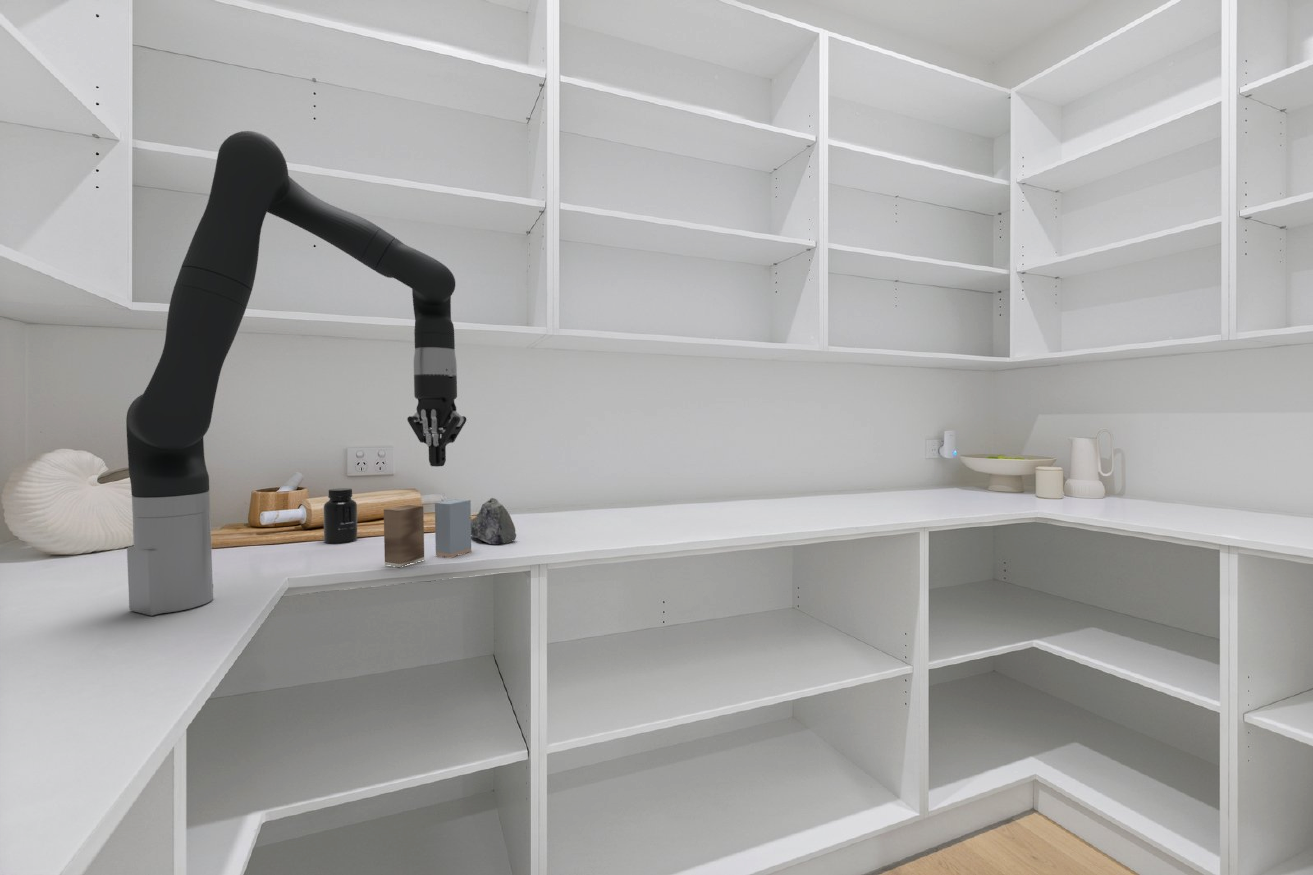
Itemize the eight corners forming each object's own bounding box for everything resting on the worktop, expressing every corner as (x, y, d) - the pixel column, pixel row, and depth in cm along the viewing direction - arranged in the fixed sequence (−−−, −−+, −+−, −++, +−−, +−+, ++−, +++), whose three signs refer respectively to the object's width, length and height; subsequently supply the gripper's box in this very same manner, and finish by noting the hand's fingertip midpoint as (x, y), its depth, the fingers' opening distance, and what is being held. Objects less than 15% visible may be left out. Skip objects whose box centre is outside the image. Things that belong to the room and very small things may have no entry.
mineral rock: (469, 535, 143) (468, 494, 142) (515, 533, 146) (514, 492, 145) (466, 547, 130) (465, 502, 130) (516, 544, 133) (516, 500, 133)
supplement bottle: (347, 544, 134) (346, 491, 133) (317, 544, 134) (316, 491, 133) (363, 537, 141) (362, 487, 140) (334, 537, 141) (333, 487, 140)
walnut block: (399, 568, 113) (398, 510, 112) (384, 566, 115) (383, 509, 114) (424, 561, 118) (423, 506, 118) (409, 559, 120) (408, 504, 120)
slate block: (450, 558, 121) (449, 504, 120) (435, 556, 122) (434, 502, 122) (471, 551, 126) (470, 500, 126) (456, 549, 128) (455, 499, 127)
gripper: (393, 373, 110) (395, 466, 111) (447, 371, 105) (449, 469, 106) (424, 375, 117) (426, 463, 118) (477, 373, 112) (478, 465, 113)
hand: (437, 466), depth 112 cm, fingers closed
